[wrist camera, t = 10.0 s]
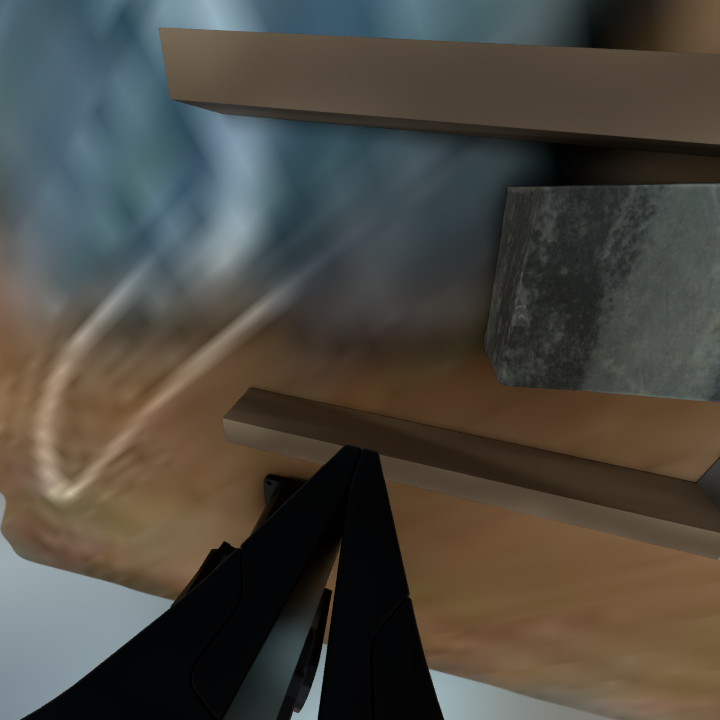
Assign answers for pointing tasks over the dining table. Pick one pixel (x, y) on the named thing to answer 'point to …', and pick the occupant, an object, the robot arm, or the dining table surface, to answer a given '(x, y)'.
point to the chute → (485, 119)
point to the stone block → (609, 290)
